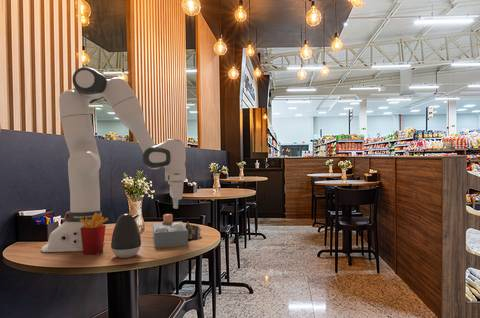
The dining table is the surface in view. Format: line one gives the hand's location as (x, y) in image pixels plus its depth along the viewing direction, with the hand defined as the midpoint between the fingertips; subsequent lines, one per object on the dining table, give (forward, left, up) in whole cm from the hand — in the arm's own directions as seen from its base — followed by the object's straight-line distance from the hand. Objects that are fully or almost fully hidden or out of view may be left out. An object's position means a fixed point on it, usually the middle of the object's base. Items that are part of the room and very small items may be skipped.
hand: (175, 208), depth 144 cm
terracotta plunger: (-3, +9, -9) cm, 13 cm away
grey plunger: (-6, -7, -12) cm, 15 cm away
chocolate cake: (+8, +3, -14) cm, 16 cm away
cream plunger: (0, 0, -12) cm, 12 cm away
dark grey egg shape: (-19, -19, -14) cm, 31 cm away
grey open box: (-3, +1, -14) cm, 14 cm away
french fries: (-30, -10, -14) cm, 35 cm away
